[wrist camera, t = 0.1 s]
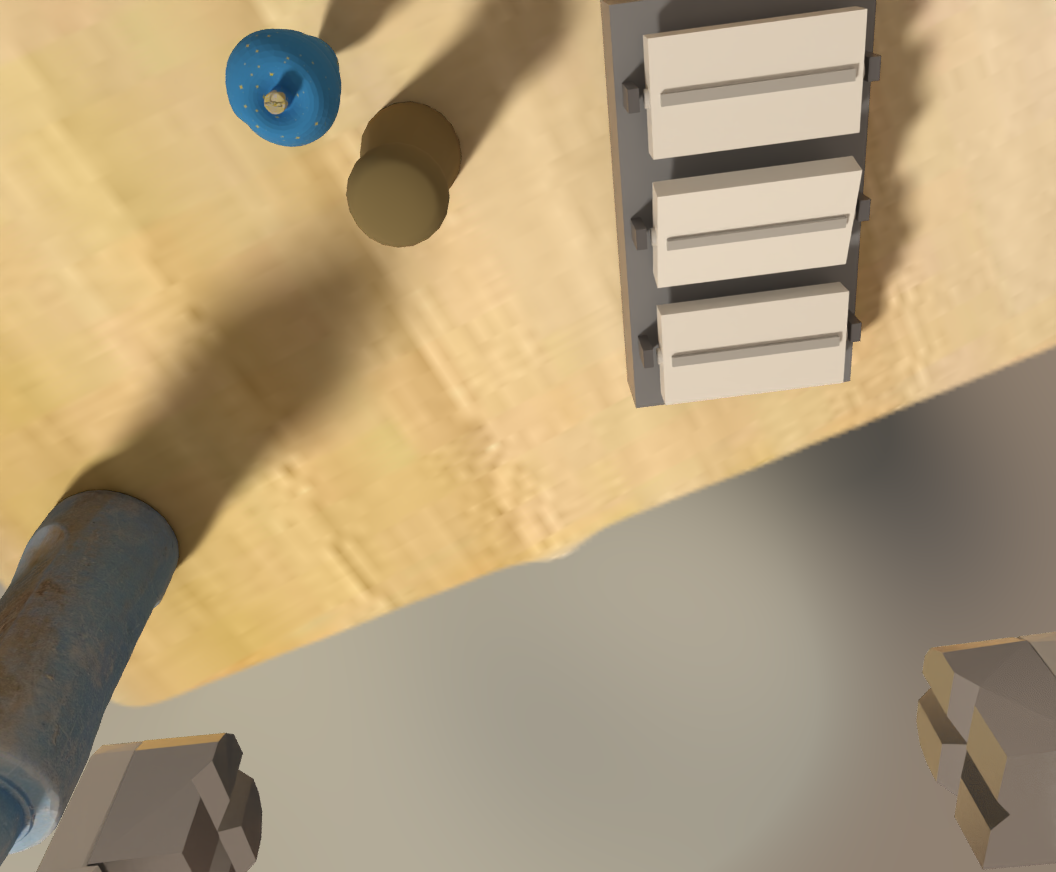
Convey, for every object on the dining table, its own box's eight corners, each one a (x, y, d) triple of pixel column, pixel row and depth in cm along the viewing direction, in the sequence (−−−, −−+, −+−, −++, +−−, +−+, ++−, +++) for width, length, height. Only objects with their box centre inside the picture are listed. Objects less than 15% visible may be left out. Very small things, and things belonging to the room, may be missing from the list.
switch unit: (600, -1, 50) (614, 8, 45) (856, -36, 50) (901, -31, 44) (627, 380, 62) (641, 424, 57) (833, 354, 62) (867, 395, 56)
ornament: (274, 0, 49) (200, 30, 36) (368, 12, 50) (328, 45, 37) (276, 99, 52) (207, 159, 39) (366, 109, 52) (327, 172, 39)
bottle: (108, 463, 64) (-152, 839, 38) (210, 552, 68) (40, 944, 42) (18, 530, 66) (-282, 925, 40) (122, 611, 70) (-89, 1016, 44)
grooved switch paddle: (653, 305, 54) (658, 317, 52) (843, 281, 53) (854, 292, 52) (657, 393, 57) (662, 407, 55) (837, 371, 56) (848, 384, 55)
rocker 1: (638, 35, 46) (644, 39, 45) (859, 5, 46) (873, 8, 44) (645, 153, 49) (650, 161, 48) (852, 125, 49) (865, 133, 47)
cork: (362, 202, 55) (337, 261, 46) (358, 99, 52) (330, 139, 43) (460, 206, 56) (455, 265, 46) (462, 103, 52) (457, 144, 43)
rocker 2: (648, 182, 49) (654, 200, 48) (856, 155, 49) (867, 172, 48) (649, 272, 53) (655, 291, 52) (840, 248, 53) (850, 266, 52)
